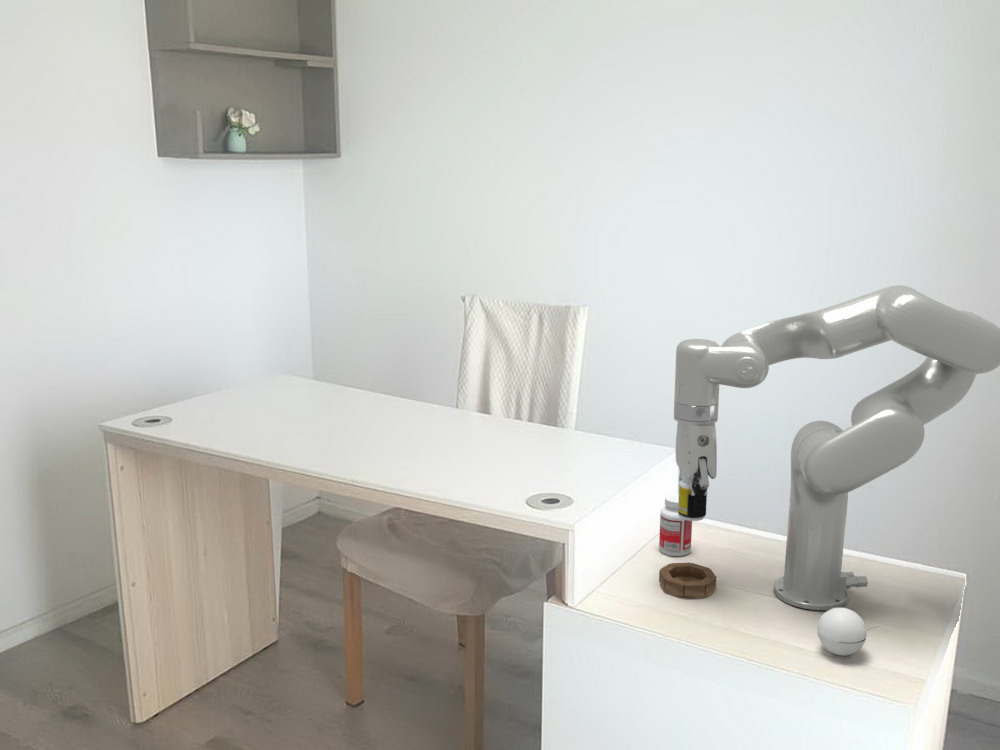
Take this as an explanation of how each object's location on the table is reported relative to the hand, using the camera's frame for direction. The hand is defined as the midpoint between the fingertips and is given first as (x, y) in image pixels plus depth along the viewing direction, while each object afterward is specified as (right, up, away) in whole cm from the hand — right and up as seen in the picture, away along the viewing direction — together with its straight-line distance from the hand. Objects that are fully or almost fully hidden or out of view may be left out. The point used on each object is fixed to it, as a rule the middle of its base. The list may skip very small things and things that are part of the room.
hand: (691, 509), depth 174 cm
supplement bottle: (0, -2, 0) cm, 2 cm away
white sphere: (+21, -20, -19) cm, 35 cm away
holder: (0, -15, +4) cm, 15 cm away
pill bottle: (0, -11, +19) cm, 22 cm away
